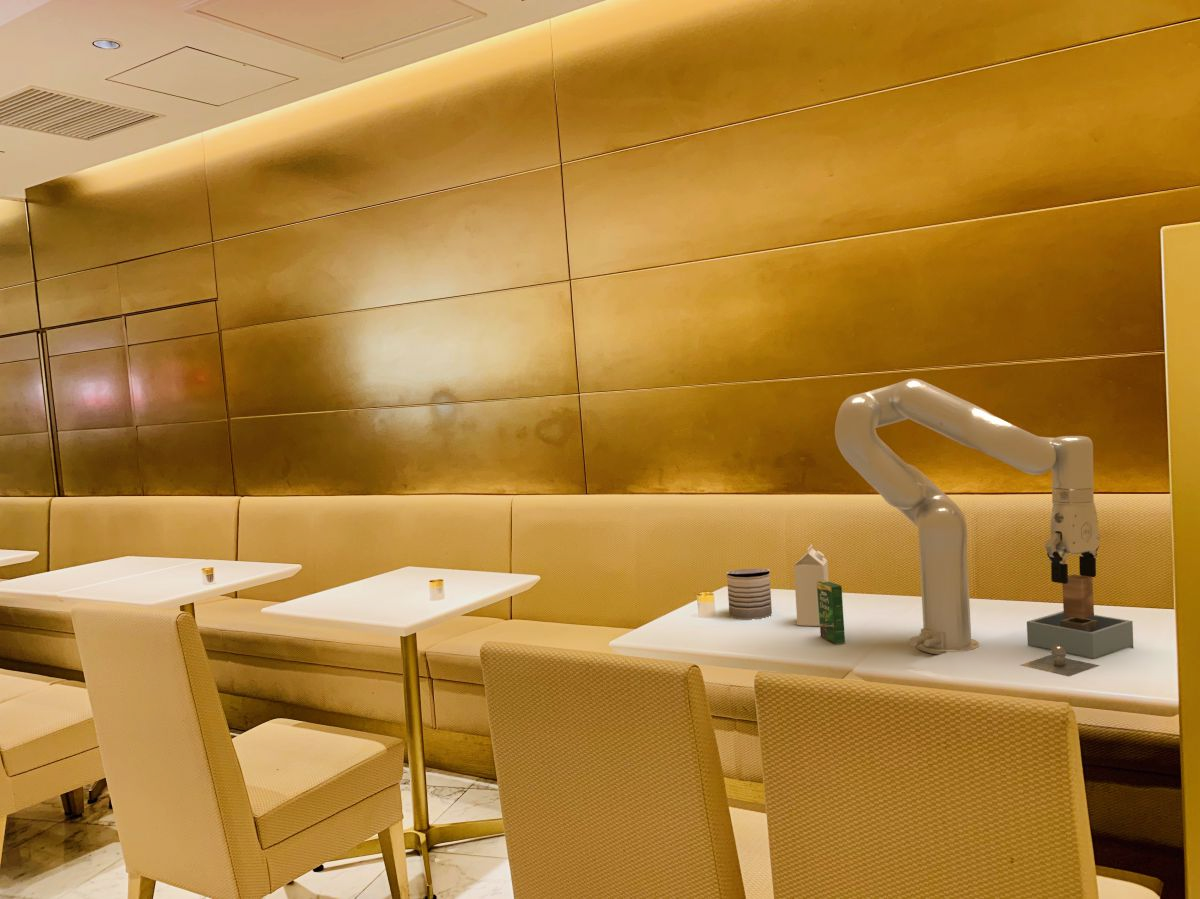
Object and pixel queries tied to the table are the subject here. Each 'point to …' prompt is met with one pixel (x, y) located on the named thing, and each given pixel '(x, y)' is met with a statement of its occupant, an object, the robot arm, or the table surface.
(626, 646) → the table surface
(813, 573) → the milk carton
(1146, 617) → the table surface
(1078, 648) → the bin
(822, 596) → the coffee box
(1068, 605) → the strut
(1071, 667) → the stud plate
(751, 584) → the can
